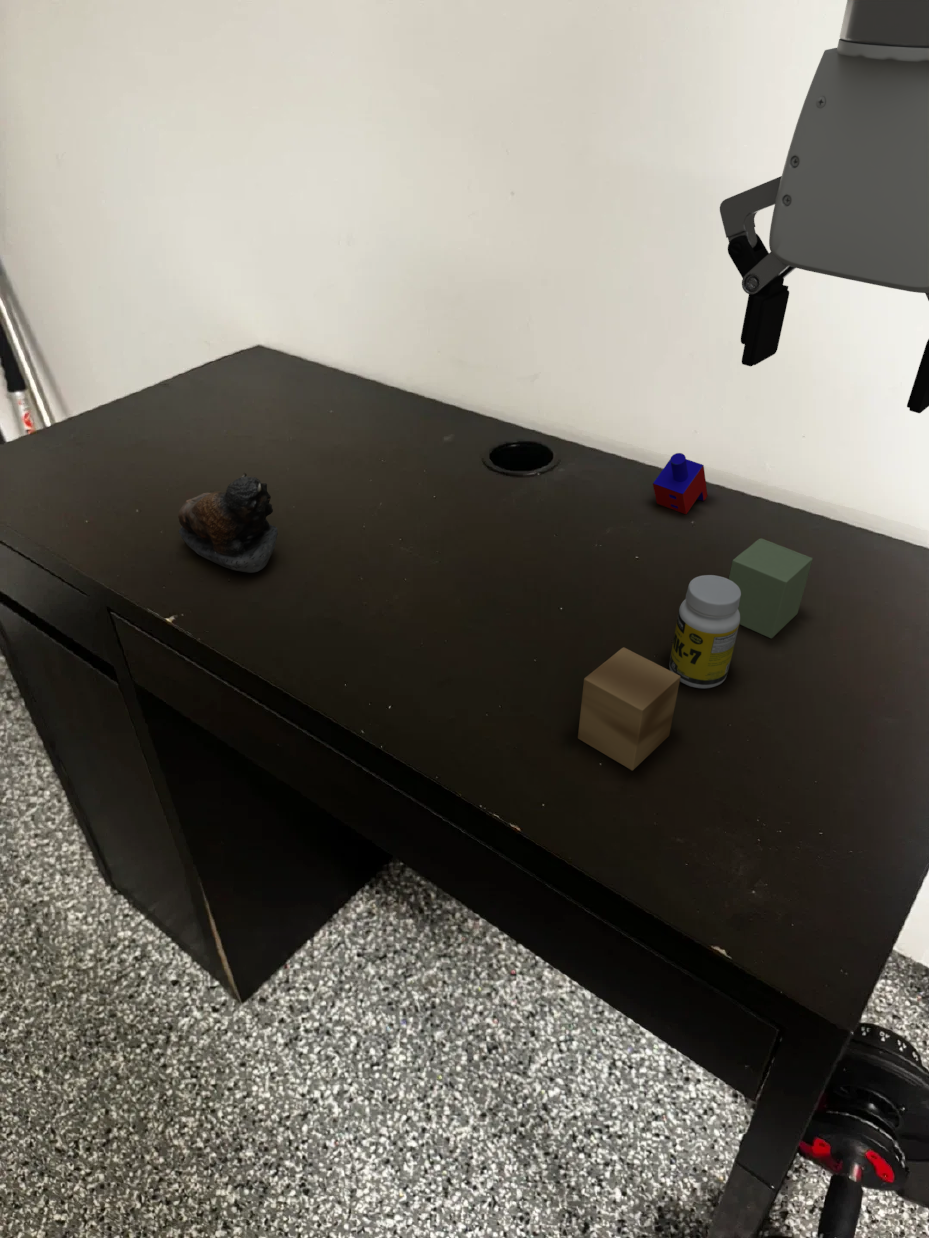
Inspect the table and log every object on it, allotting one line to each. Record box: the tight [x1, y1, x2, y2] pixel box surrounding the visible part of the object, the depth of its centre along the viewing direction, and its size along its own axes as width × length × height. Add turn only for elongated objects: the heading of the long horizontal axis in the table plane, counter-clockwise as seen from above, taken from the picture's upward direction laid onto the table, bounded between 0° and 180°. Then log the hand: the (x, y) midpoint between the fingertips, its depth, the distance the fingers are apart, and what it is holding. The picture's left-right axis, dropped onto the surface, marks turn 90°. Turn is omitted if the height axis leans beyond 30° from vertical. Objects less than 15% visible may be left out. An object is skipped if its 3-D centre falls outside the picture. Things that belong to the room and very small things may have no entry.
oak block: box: [577, 646, 681, 771], centre depth 66 cm, size 5×5×6 cm
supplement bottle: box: [668, 574, 741, 689], centre depth 71 cm, size 5×5×8 cm
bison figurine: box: [177, 472, 278, 574], centre depth 85 cm, size 12×7×10 cm, turn 50°
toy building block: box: [652, 452, 708, 515], centre depth 94 cm, size 4×4×8 cm
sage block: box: [728, 537, 813, 639], centre depth 78 cm, size 5×5×6 cm
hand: (836, 381), depth 51 cm, fingers open, 9 cm apart
